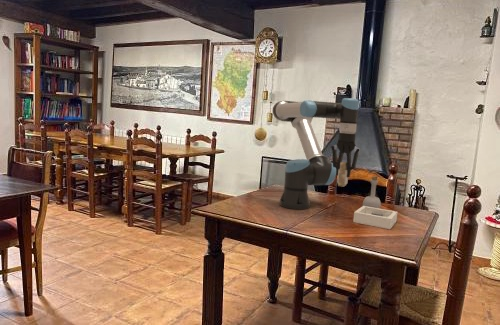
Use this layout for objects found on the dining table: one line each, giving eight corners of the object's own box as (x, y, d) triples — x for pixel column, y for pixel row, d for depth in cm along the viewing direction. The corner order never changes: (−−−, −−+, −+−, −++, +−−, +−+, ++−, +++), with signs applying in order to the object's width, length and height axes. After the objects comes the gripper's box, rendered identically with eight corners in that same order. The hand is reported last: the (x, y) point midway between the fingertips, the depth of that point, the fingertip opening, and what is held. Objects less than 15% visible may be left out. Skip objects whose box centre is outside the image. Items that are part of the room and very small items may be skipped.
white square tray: (353, 222, 164) (354, 212, 163) (362, 214, 177) (362, 205, 177) (390, 229, 156) (391, 219, 156) (396, 221, 169) (397, 211, 169)
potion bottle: (381, 214, 181) (385, 178, 179) (362, 212, 183) (366, 176, 180) (379, 209, 189) (382, 175, 187) (361, 208, 191) (364, 173, 189)
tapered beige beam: (338, 185, 171) (340, 162, 170) (340, 184, 175) (342, 161, 173) (343, 186, 170) (345, 163, 168) (345, 185, 173) (348, 162, 172)
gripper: (328, 131, 170) (323, 181, 173) (362, 134, 162) (356, 187, 165) (333, 131, 176) (328, 179, 179) (366, 134, 168) (361, 184, 172)
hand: (342, 183), depth 172 cm, fingers closed on tapered beige beam, 2 cm apart
